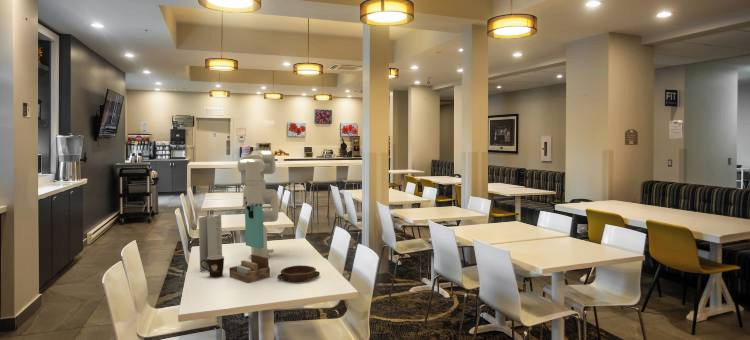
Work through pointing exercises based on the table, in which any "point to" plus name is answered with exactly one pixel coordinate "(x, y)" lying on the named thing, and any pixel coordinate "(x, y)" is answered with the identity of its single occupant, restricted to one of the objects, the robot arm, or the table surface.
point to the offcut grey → (243, 270)
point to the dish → (298, 273)
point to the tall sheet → (254, 227)
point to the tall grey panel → (209, 238)
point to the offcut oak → (249, 265)
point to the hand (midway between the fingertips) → (253, 217)
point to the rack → (253, 275)
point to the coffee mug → (215, 265)
